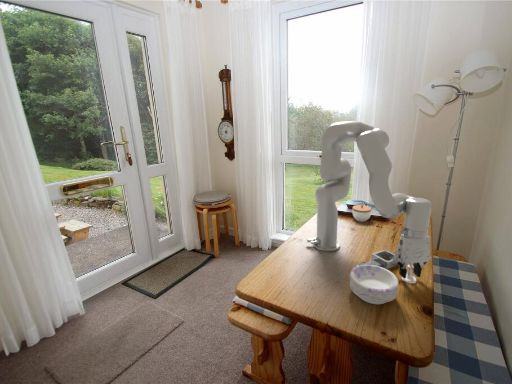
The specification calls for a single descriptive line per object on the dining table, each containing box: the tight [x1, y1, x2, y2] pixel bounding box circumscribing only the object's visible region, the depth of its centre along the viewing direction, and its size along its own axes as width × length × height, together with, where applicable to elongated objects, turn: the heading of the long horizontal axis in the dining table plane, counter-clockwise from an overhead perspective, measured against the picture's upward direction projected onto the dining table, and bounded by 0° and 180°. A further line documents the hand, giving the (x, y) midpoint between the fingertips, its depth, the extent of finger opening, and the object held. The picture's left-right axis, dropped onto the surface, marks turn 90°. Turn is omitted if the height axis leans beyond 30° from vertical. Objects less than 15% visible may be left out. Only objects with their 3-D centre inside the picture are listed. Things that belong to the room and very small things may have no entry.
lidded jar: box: [352, 204, 373, 223], centre depth 155 cm, size 11×11×9 cm
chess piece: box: [401, 263, 418, 285], centre depth 97 cm, size 5×5×10 cm
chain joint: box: [354, 249, 400, 270], centre depth 110 cm, size 30×8×3 cm, turn 113°
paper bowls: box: [349, 265, 400, 305], centre depth 89 cm, size 15×15×8 cm
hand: (409, 275), depth 97 cm, fingers open, 4 cm apart
